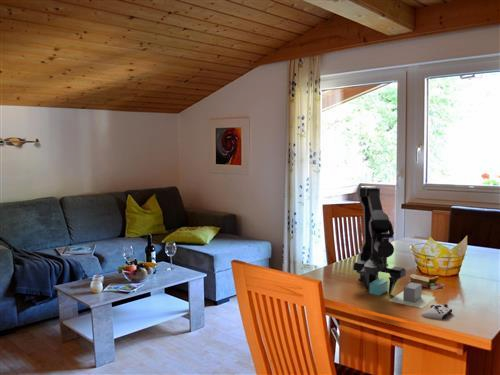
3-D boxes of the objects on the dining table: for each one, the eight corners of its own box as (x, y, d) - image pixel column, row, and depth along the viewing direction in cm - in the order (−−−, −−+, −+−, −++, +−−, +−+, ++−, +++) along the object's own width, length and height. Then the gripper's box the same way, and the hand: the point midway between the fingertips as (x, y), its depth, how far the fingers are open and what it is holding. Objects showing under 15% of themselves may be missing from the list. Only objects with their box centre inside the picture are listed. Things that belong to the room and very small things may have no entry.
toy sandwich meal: (442, 295, 179) (443, 283, 178) (405, 290, 185) (406, 278, 185) (445, 286, 190) (446, 274, 189) (410, 281, 196) (411, 270, 196)
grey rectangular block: (403, 300, 170) (403, 286, 169) (410, 295, 175) (410, 282, 174) (414, 302, 167) (414, 289, 167) (421, 297, 172) (421, 284, 172)
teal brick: (369, 296, 178) (369, 283, 177) (377, 291, 183) (377, 278, 183) (379, 298, 175) (379, 285, 175) (387, 293, 181) (387, 280, 180)
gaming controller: (429, 306, 164) (445, 295, 160) (442, 321, 162) (458, 311, 158) (418, 315, 155) (433, 304, 152) (431, 332, 153) (447, 321, 149)
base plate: (388, 303, 170) (388, 300, 169) (403, 293, 180) (403, 290, 180) (422, 310, 162) (422, 308, 162) (435, 300, 173) (435, 297, 173)
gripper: (346, 251, 177) (346, 291, 179) (395, 259, 166) (393, 302, 167) (360, 246, 186) (359, 284, 187) (406, 253, 174) (405, 294, 176)
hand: (378, 291), depth 179 cm, fingers open, 9 cm apart
